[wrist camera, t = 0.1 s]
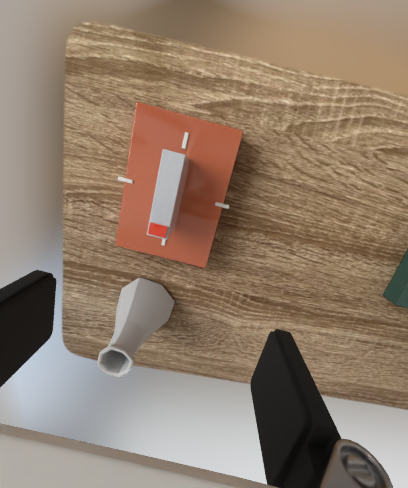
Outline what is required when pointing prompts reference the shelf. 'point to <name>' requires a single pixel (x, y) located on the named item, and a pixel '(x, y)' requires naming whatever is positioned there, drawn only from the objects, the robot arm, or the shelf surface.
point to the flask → (135, 324)
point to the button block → (399, 285)
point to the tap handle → (168, 193)
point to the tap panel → (196, 188)
